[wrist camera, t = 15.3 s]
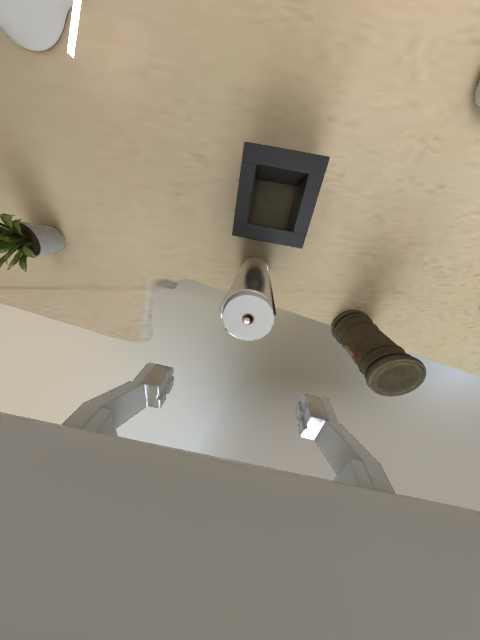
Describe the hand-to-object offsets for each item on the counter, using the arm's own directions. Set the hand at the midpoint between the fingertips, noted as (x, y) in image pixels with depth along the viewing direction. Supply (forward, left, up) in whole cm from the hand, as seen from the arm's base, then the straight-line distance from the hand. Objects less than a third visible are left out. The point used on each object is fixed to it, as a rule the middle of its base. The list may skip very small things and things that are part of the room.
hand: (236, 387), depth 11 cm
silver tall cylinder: (0, 0, -35) cm, 35 cm away
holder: (-13, +1, -34) cm, 37 cm away
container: (+9, +26, -35) cm, 44 cm away
